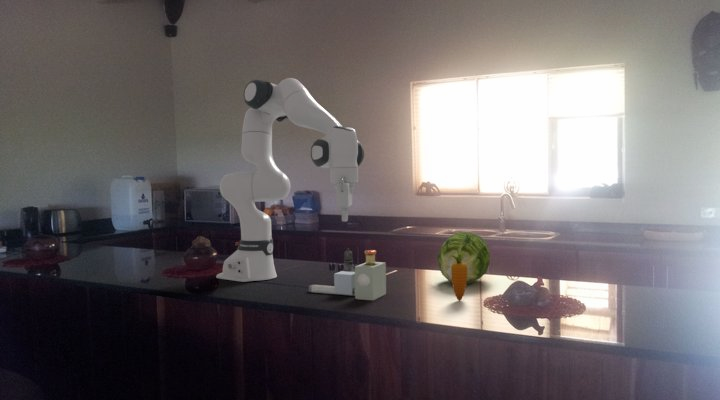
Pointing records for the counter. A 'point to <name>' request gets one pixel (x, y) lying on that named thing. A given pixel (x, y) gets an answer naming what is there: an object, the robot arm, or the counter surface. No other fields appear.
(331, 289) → the rail
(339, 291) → the block
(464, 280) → the carrot
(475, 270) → the lettuce
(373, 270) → the block with square hole
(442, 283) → the counter surface
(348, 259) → the stone chess piece
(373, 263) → the copper knob
